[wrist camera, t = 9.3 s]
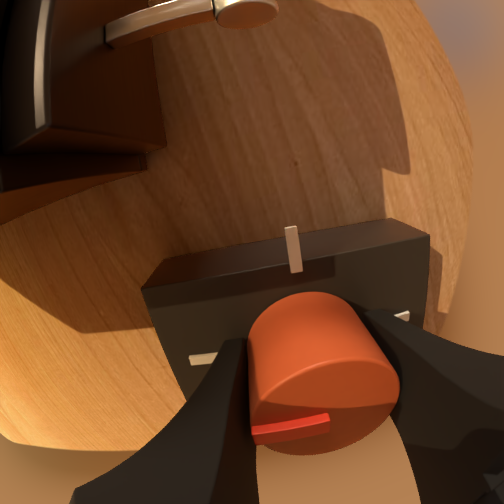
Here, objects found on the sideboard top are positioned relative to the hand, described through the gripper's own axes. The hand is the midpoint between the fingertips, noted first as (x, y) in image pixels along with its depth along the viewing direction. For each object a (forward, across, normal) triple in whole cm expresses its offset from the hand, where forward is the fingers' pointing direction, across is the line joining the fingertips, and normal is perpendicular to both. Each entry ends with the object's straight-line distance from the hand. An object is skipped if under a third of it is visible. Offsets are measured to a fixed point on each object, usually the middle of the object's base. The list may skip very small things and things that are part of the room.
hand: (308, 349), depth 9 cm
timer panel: (+3, 0, 0) cm, 3 cm away
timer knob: (0, 0, 0) cm, 0 cm away
